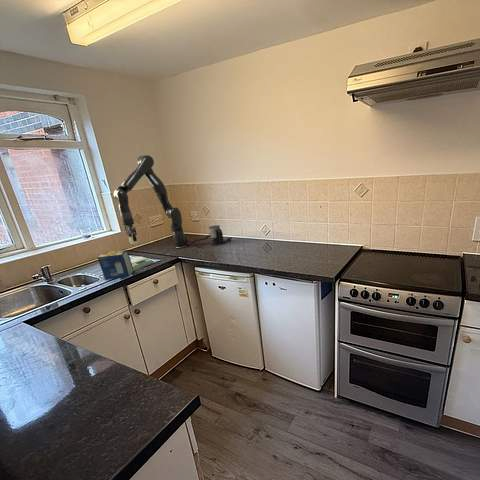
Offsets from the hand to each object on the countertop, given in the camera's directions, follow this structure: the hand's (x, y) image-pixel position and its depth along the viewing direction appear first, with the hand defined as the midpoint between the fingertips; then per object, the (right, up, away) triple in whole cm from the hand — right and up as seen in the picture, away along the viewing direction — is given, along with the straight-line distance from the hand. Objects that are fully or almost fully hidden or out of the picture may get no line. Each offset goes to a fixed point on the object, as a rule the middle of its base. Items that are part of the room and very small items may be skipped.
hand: (133, 240), depth 222 cm
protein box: (+2, -26, -23) cm, 35 cm away
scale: (+5, -18, -3) cm, 19 cm away
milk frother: (+61, +1, +28) cm, 67 cm away
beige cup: (0, -2, +1) cm, 2 cm away
